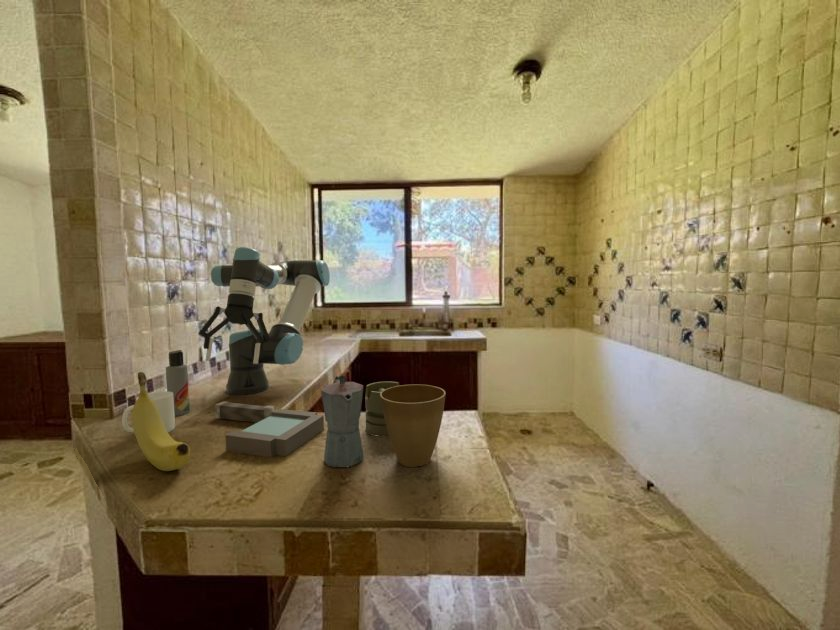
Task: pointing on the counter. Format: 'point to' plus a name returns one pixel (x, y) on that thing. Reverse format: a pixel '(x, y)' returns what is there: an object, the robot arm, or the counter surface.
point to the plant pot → (413, 421)
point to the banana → (156, 434)
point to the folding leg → (242, 412)
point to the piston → (376, 408)
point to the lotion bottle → (178, 382)
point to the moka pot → (342, 422)
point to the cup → (164, 406)
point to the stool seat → (276, 433)
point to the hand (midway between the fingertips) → (232, 362)
